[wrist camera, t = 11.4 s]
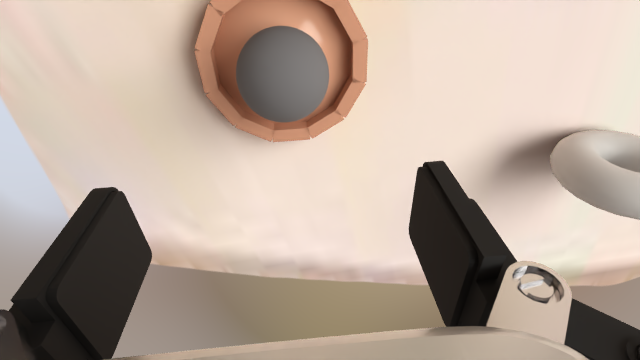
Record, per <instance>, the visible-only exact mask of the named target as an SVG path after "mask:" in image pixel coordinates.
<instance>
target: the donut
mask: <svg viewBox="0 0 640 360" xmlns="http://www.w3.org/2000/svg"><path fill="white" fill-rule="evenodd" d="M550 163H551V168H552V173H553V174H554V176H555V177H556V178H557V180H558V181H559V182H560V183H561V185H562V186H563V187H564V188H565V189H567V190H568V191H569V192H570V193H572V194H573V195H574V196H576V197H577V198H579V199H581V200H583V201H585V202H587V203H589V204H590V205H592V206H594V207H597V208H599V209H602V210H605V211H608V212H610V213H613V214H616V215H620V216H625V217H629V218H634V219H638V220H640V136H637V135H633V134H629V133H623V132H617V131H606V130H589V131H581V132H577V133H574V134H571V135H569V136H567V137H565V138H563V139H562V140H560V141H559V142H558V143H557V145H556V146H555V148H554V149H553V151H552V153H551V156H550Z"/></svg>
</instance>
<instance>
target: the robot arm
mask: <svg viewBox="0 0 640 360" xmlns="http://www.w3.org/2000/svg"><path fill="white" fill-rule="evenodd" d="M409 235H410V239H411V241H412V244H413V246H414V249H415V251H416V254H417V256H418V259H419V261H420V264H421V266H422V269H423V271H424V274H425V276H426V279H427V281H428V284H429V286H430V289H431V291H432V294H433V296H434V299H435V301H436V304H437V306H438V309H439V311H440V314H441V316H442V319H443V321H444V323H445V325H446V327H438V328H425V329H412V330H398V331H387V332H376V333H365V334H354V335H344V336H334V337H323V338H312V339H301V340H291V341H281V342H271V343H260V344H251V345H241V346H231V347H220V348H210V349H201V350H190V351H181V352H171V353H162V354H152V355H142V356H133V357H123V358H114V359H111V358H112V356H113V354H114V352H115V349H116V347H117V344H118V342H119V339H120V337H121V334H122V332H123V329H124V327H125V324H126V322H127V319H128V317H129V314H130V312H131V310H132V307H133V305H134V302H135V300H136V297H137V294H138V292H139V289H140V287H141V285H142V282H143V280H144V277H145V275H146V272H147V270H148V267H149V265H150V262H151V259H152V253H151V249H150V247H149V245H148V243H147V241H146V239H145V236H144V234H143V232H142V230H141V228H140V226H139V224H138V222H137V220H136V217H135V215H134V213H133V211H132V209H131V207H130V205H129V203H128V201H127V199H126V196H125V194H124V193H123V192H122V191H118V189H116V188H115V187H108V188H95V189H93V190H92V191H91V192H90V193H89V194H88V196H87V197H86V198H85V200H84V201H83V203H82V204H81V205H80V207H79V208H78V209H77V211H76V212H75V213H74V215H73V216H72V218H71V219H70V220H69V222H68V223H67V224H66V226H65V227H64V228H63V230H62V231H61V233H60V234H59V235H58V237H57V238H56V239H55V241H54V242H53V243H52V245H51V246H50V247H49V249H48V250H47V251H46V253H45V254H44V256H43V257H42V258H41V260H40V261H39V262H38V264H37V265H36V266H35V268H34V269H33V270H32V272H31V273H30V275H29V276H28V277H27V279H26V280H25V281H24V283H23V284H22V285H21V287H20V288H19V290H18V291H17V292H16V294H15V295H14V296H13V298H12V299H11V301H12V302H13V303H14V304H13V306H12V308H11V309H10V310H9V311H7V310H0V360H640V330H638V329H636V328H634V327H632V326H630V325H628V324H626V323H624V322H621V321H619V320H617V319H615V318H613V317H611V316H609V315H606V314H604V313H602V312H600V311H598V310H596V309H594V308H592V307H589V306H587V305H585V304H583V303H581V302H579V301H577V300H575V299H572V293H571V289H570V287H569V285H568V283H567V282H566V281H565V280H564V278H563V277H562V276H561V275H559V274H558V273H557V272H555V271H554V270H553V269H551V268H549V267H547V266H545V265H543V264H539V263H536V262H530V261H521V262H517V260H516V259H515V258H514V256H513V255H512V253H511V252H510V250H509V249H508V247H507V246H506V245H505V243H504V242H503V240H502V239H501V237H500V236H499V234H498V233H497V232H496V230H495V229H494V227H493V226H492V224H491V223H490V221H489V220H488V219H487V217H486V216H485V214H484V213H483V211H482V210H481V208H480V207H479V206H478V204H477V203H476V202H475V201H474V200H473V199H469V198H468V196H467V195H466V193H465V192H464V190H463V189H462V188H461V186H460V185H459V183H458V182H457V180H456V179H455V177H454V176H453V174H452V173H451V171H450V170H449V168H448V167H447V165H446V164H445V163H444V161H434V162H425V163H424V164H423V167H419V168H418V170H417V176H416V183H415V190H414V196H413V203H412V210H411V216H410V223H409Z"/></svg>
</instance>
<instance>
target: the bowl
mask: <svg viewBox="0 0 640 360" xmlns="http://www.w3.org/2000/svg"><path fill="white" fill-rule="evenodd" d="M272 26H290V27H294V28H297V29H299V30H301V31H303V32H305V33H307V34H308V35H310V36H311V37H312V38H313V39H314V40H315V41H316V42H317V43H318V44H319V46H320V47H321V49H322V51H323V52H324V54H325V57H326V59H327V63H328V67H329V84H328V88H327V91H326V94H325V97H324V99H323V100H322V102H321V103H320V105H319V106H318V107H317V108H316V109H315V110H314V111H313V112H312V113H311V114H309V115H308V116H306V117H304V118H303V119H300V120H297V121H293V122H275V121H271V120H268V119H265V118H263V117H261V116H260V115H258V114H256V113H255V112H254V111H253V110H252V109H251V108H250V107H249V106H248V105H247V104H246V102H245V101H244V99H243V98H242V96H241V94H240V91H239V89H238V85H237V81H236V65H237V60H238V57H239V54H240V52H241V50H242V48H243V46H244V45H245V43H246V42H247V41H248V40H249V39H250V38H251V37H252V36H253V35H254V34H256V33H257V32H259V31H261V30H263V29H265V28H269V27H272ZM366 37H367V35H366V34H365V32H364V30H363V28H362V26H361V24H360V22H359V20H358V18H357V17H356V15H355V13H354V11H353V9H352V7H351V5H350V3H349V1H348V0H211V1H210V3H209V4H208V6H207V9H206V12H205V16H204V19H203V22H202V25H201V28H200V32H199V35H198V38H197V41H196V45H195V48H196V50H195V56H196V60H197V64H198V68H199V72H200V76H201V80H202V84H203V88H204V92H205V93H207V95H206V96H207V97H208V98H209V99H210V101H211V102H212V103H213V104H214V105H215V106H216V107H217V108H218V110H219V111H220V112H221V113H222V114H223V115H224V116H225V117H226V118H227V120H228V121H229V122H230V123H231V124H232V125H235V124H236V126H235V127H236V128H238V129H241V130H243V131H246V132H248V133H251V134H253V135H255V136H258V137H260V138H263V139H265V140H268V141H270V142H271V140H272V138H273V142H280V141H294V140H307V139H310V136H311V137H312V138H314V137H316V136H317V135H319V134H321V133H322V132H324V131H326V130H327V129H329V128H331V127H332V126H334V125H336V124H337V123H339V122H341V121H342V120H344V118H343V117H346V116H347V115H348V113H349V111H350V110H351V108H352V106H353V105H354V103H355V101H356V100H357V98H358V96H359V95H360V93H361V91H362V90H363V88H364V86H365V85H366V84H365V82H366V80H367V51H368V39H367V38H366Z"/></svg>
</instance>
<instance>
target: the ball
mask: <svg viewBox="0 0 640 360" xmlns="http://www.w3.org/2000/svg"><path fill="white" fill-rule="evenodd" d="M236 81H237V85H238V89H239V91H240V94H241V96H242V98H243V99H244V101H245V102H246V104H247V105H248V106H249V107H250V108H251V109H252V110H253V111H254V112H255V113H256V114H258V115H260V116H261V117H263V118H265V119H268V120H271V121H275V122H293V121H297V120H300V119H303V118H304V117H306V116H308V115H309V114H311V113H312V112H313V111H314V110H315V109H316V108H317V107H318V106H319V105H320V103H321V102H322V100H323V99H324V97H325V94H326V91H327V88H328V84H329V67H328V63H327V59H326V57H325V54H324V52H323V51H322V49H321V47H320V46H319V44H318V43H317V42H316V41H315V40H314V39H313V38H312V37H311V36H310V35H308V34H307V33H305V32H303V31H301V30H299V29H297V28H294V27H290V26H272V27H269V28H265V29H263V30H261V31H259V32H257V33H256V34H254V35H253V36H252V37H251V38H250V39H249V40H248V41H247V42H246V43H245V45H244V46H243V48H242V50H241V52H240V54H239V57H238V60H237V65H236Z"/></svg>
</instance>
